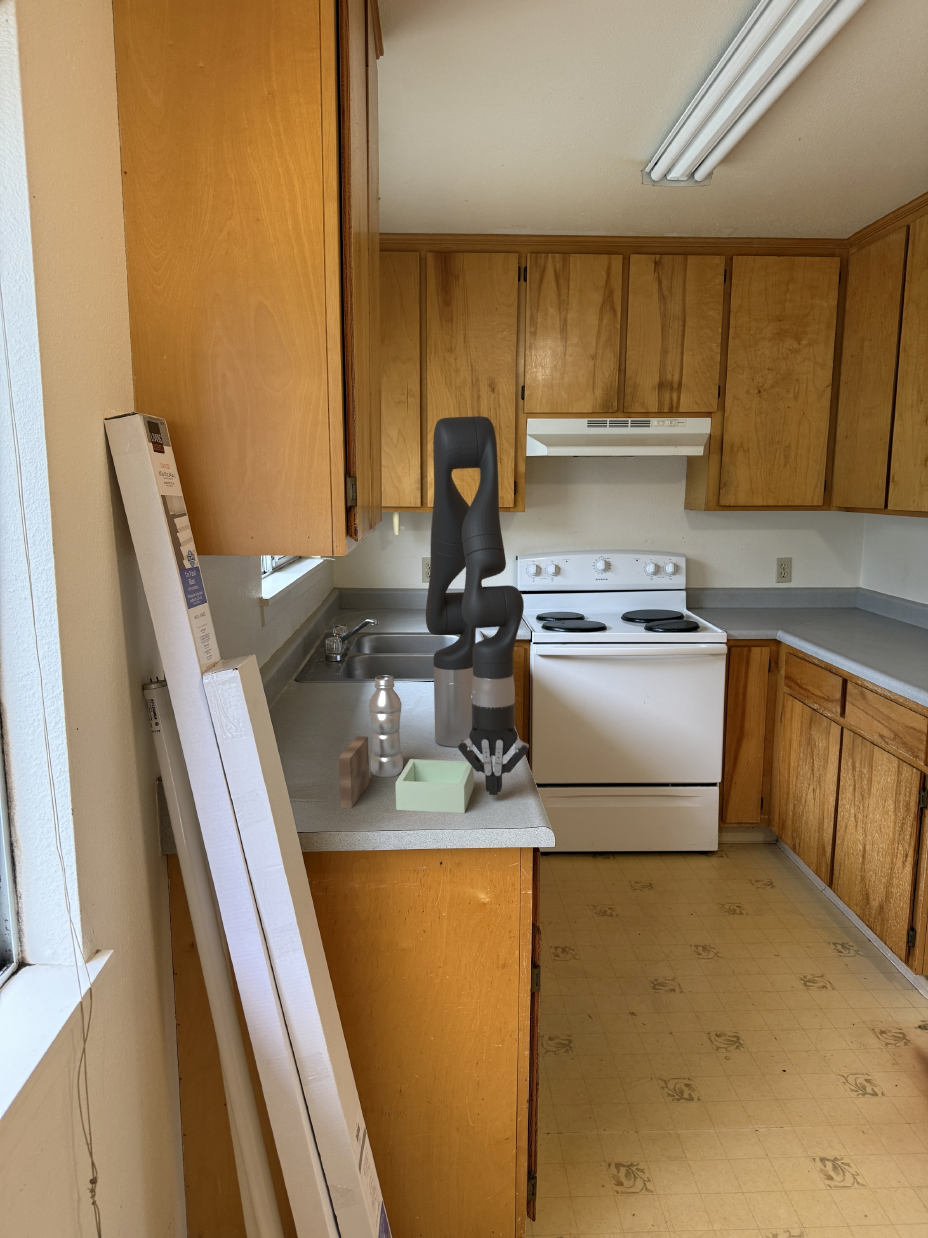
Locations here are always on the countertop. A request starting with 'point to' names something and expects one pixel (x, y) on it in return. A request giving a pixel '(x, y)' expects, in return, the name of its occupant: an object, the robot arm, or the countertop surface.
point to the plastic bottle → (385, 728)
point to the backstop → (354, 771)
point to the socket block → (435, 786)
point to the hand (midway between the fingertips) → (493, 793)
